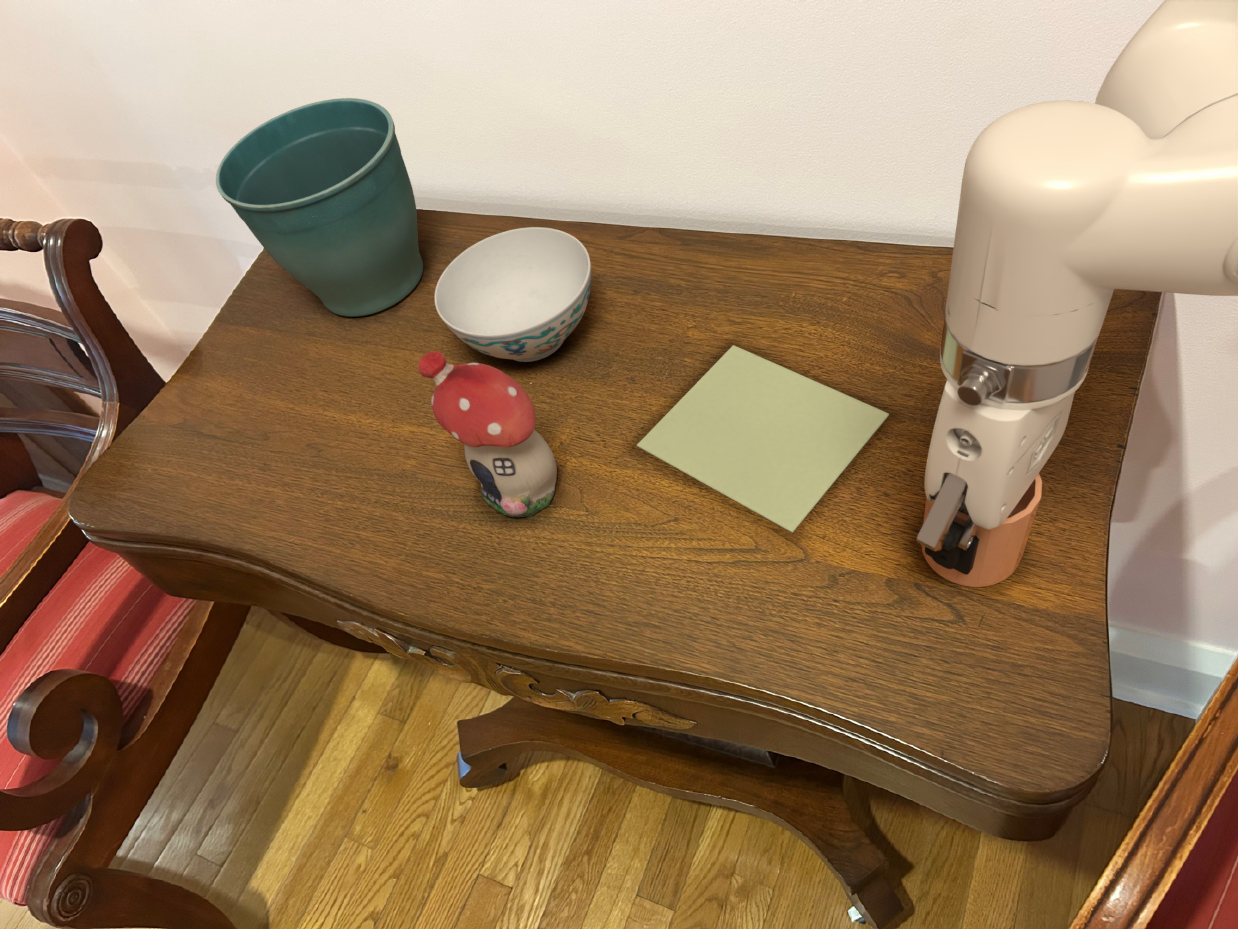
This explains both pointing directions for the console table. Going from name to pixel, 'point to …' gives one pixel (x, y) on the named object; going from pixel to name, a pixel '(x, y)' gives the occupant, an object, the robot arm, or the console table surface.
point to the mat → (763, 436)
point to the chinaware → (516, 292)
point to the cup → (995, 543)
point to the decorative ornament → (494, 433)
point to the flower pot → (330, 202)
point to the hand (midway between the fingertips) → (975, 521)
